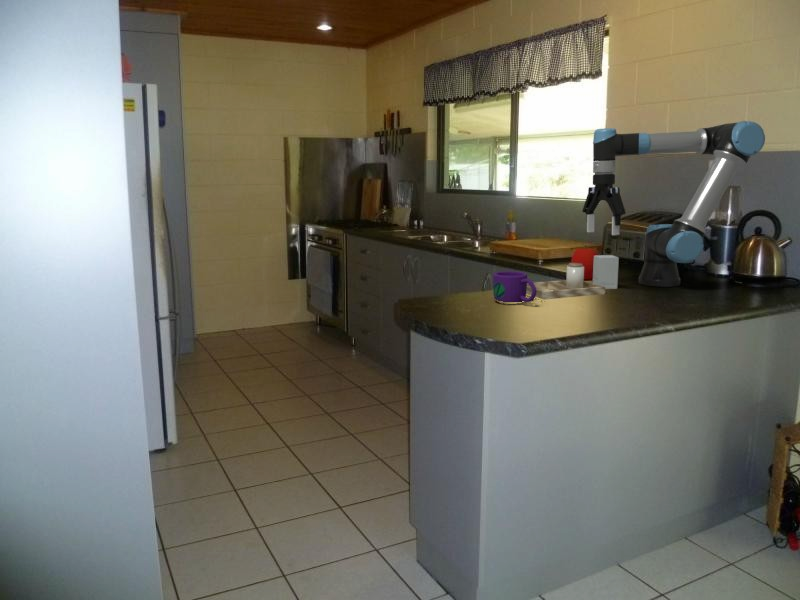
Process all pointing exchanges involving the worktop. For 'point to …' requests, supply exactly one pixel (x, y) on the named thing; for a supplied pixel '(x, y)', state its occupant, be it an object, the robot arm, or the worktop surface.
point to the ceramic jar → (575, 275)
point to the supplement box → (606, 271)
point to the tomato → (585, 260)
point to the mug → (512, 286)
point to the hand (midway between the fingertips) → (602, 233)
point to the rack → (563, 290)
